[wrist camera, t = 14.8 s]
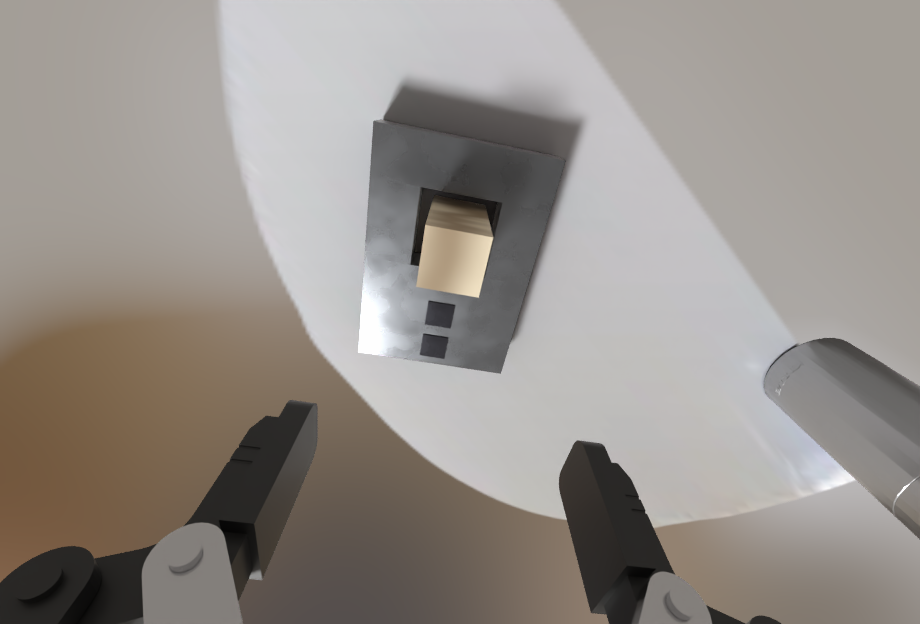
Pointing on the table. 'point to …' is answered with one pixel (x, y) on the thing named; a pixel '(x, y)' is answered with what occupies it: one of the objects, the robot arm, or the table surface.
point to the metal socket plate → (396, 265)
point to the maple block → (455, 247)
